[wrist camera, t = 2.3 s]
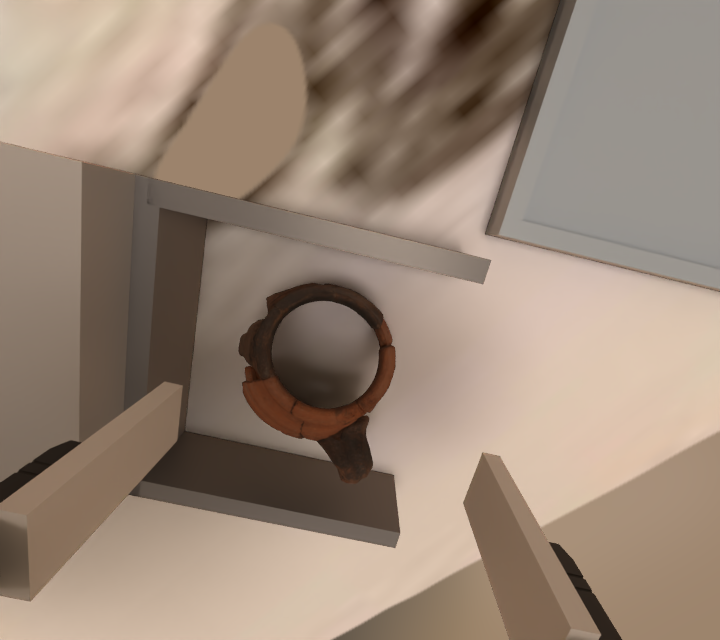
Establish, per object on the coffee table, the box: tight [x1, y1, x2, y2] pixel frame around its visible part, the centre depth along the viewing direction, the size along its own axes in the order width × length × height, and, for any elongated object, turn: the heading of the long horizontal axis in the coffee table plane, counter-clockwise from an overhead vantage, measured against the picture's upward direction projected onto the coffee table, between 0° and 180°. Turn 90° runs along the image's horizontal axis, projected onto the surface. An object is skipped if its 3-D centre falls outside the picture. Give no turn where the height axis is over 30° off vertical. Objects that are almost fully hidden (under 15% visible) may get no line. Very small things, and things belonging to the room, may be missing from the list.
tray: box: [485, 0, 720, 292], centre depth 18 cm, size 18×17×2 cm
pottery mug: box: [238, 283, 396, 484], centre depth 21 cm, size 12×10×8 cm
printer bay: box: [0, 142, 491, 548], centre depth 19 cm, size 23×18×8 cm
